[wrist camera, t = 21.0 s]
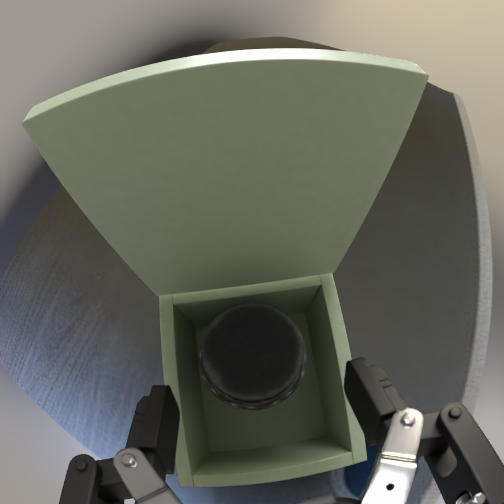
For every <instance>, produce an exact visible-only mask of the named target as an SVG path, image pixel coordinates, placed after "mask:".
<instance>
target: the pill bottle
mask: <svg viewBox="0 0 504 504" xmlns="http://www.w3.org/2000/svg"><path fill="white" fill-rule="evenodd" d="M198 358H199V368H200V373H201V375H202V377H203V380H204V382H205V384H206V385H207V386H208V388H209V389H210V390H211V392H212V393H213V394H214V395H215V396H216V397H217V398H218V399H220V400H221V401H223V402H224V403H226V404H228V405H231V406H233V407H236V408H239V409H244V410H262V409H266V408H269V407H273V406H275V405H277V404H279V403H281V402H283V401H284V400H286V399H287V398H288V397H289V396H291V395H292V393H294V392H295V390H296V389H297V387H298V385H299V384H300V383H301V381H302V378H303V376H304V374H305V371H306V363H307V351H306V346H305V343H304V340H303V337H302V335H301V333H300V331H299V330H298V329H297V327H296V325H295V324H294V322H293V321H292V320H291V319H290V318H289V317H288V316H287V315H286V314H284V313H283V312H282V311H280V310H279V309H277V308H275V307H273V306H270V305H267V304H264V303H257V302H249V303H241V304H238V305H235V306H232V307H230V308H227V309H226V310H224V311H223V312H221V313H220V314H219V315H218V316H216V317H215V318H214V320H213V321H212V322H211V323H210V325H209V326H208V328H207V330H206V332H205V334H204V336H203V338H202V342H201V345H200V349H199V356H198Z"/></svg>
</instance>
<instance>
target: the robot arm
mask: <svg viewBox="0 0 504 504" xmlns="http://www.w3.org/2000/svg"><path fill="white" fill-rule="evenodd" d="M344 392H345V395H346V397H347V399H348V402H349V404H350V406H351V408H352V410H353V412H354V414H355V416H356V418H357V421H358V423H359V425H360V427H361V429H362V431H363V433H364V435H365V438H366V440H367V442H368V444H369V446H373V445H376V444H378V446H379V448H380V449H379V452H378V454H377V457H376V460H375V462H374V465H373V468H372V470H371V473H370V475H369V477H368V480H367V482H366V484H365V486H364V488H363V490H362V493H361V495H360V497H359V499H358V500H356V499H352V498H345V497H335V496H334V493H329V494H325V495H321V496H317V497H312V498H307V499H305V500H303V501H300V502H298V503H295V504H405V503H406V500H407V497H408V494H409V491H410V488H411V484H412V481H413V478H414V474H415V470H416V467H417V461H416V460H415V459H416V457H420V456H424V458H425V460H426V462H427V464H428V466H429V468H430V470H431V473H432V475H433V477H434V479H435V481H436V483H437V485H438V488H439V490H440V492H441V494H442V496H443V499H444V501H445V503H446V504H504V465H503V463H502V461H501V460H500V458H499V456H498V455H497V453H496V452H495V450H494V448H493V447H492V445H491V444H490V442H489V441H488V439H487V438H486V436H485V435H484V433H483V432H482V430H481V429H480V427H479V426H478V424H477V423H476V421H475V420H474V418H473V417H472V415H471V414H470V413H469V411H468V410H467V408H466V407H465V406H464V405H463V404H461V403H458V402H450V403H447V404H445V405H444V406H443V407H442V409H441V411H440V412H435V413H427V414H421V413H420V412H419V411H417V410H415V409H412V408H408V407H407V405H406V404H405V402H404V401H403V399H402V398H401V396H400V395H399V393H398V392H397V390H396V389H395V387H394V386H393V385H392V383H391V381H390V380H389V379H388V377H387V375H386V374H385V372H384V371H383V370H382V369H380V368H379V367H377V366H376V365H372V366H369V365H368V363H367V362H366V360H365V359H364V358H363V357H361V358H357V359H353V360H349V361H347V362H346V368H345V377H344ZM179 423H180V410H179V406H178V404H177V402H176V399H175V397H174V394H173V392H172V389H171V387H170V386H169V385H154V386H152V389H151V393H150V396H143V398H142V399H141V400H140V401H139V403H138V404H137V407H136V410H135V415H134V417H133V422H132V425H131V428H130V432H129V436H128V440H127V443H126V447H125V449H122V450H120V451H119V452H118V453H117V454H116V455H115V457H114V458H110V459H104V460H97V461H95V460H94V459H93V458H92V457H91V456H89V455H86V454H81V455H78V456H75V457H74V458H73V459H72V460H71V461H70V463H69V467H68V470H67V474H66V477H65V481H64V485H63V489H62V493H61V497H60V501H59V504H124V499H131V498H134V500H135V504H183V503H182V502H181V500H180V499H179V498H178V497H177V496H176V494H175V493H174V492H173V491H172V490H171V488H170V487H169V486H168V485H167V483H166V482H165V478H166V474H174V467H175V457H176V448H177V439H178V431H179Z"/></svg>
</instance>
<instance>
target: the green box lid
mask: <svg viewBox="0 0 504 504" xmlns="http://www.w3.org/2000/svg"><path fill="white" fill-rule="evenodd" d="M427 80H428V75H427V74H426V73H425V72H424V71H423V70H422V69H421V68H420V67H419V66H417V65H416V64H415V63H413V62H409V61H404V60H399V59H394V58H388V57H383V56H376V55H370V54H363V53H354V52H346V51H335V50H321V49H254V50H240V51H229V52H219V53H211V54H204V55H197V56H191V57H185V58H179V59H174V60H169V61H164V62H160V63H155V64H151V65H147V66H143V67H139V68H135V69H131V70H128V71H124V72H121V73H117V74H114V75H111V76H108V77H105V78H102V79H99V80H96V81H93V82H91V83H87V84H85V85H82V86H79V87H77V88H74V89H72V90H69V91H67V92H65V93H62V94H60V95H58V96H55V97H53V98H51V99H49V100H46V101H44V102H42V103H40V104H38V105H36V106H34V107H32V109H31V110H30V112H29V113H28V115H27V116H26V118H25V119H24V121H23V122H22V125H23V127H24V128H25V130H26V131H27V133H28V135H29V136H30V138H31V139H32V141H33V143H34V144H35V146H36V147H37V149H38V150H39V152H40V153H41V155H42V156H43V158H44V159H45V161H46V162H47V164H48V165H49V166H50V168H51V169H52V171H53V172H54V174H55V175H56V176H57V178H58V179H59V181H60V182H61V183H62V185H63V186H64V187H65V189H66V190H67V191H68V193H69V194H70V195H71V197H72V198H73V199H74V201H75V202H76V203H77V205H78V206H79V207H80V208H81V210H82V211H83V212H84V214H85V215H86V216H87V217H88V219H89V220H90V221H91V222H92V223H93V225H94V226H95V227H96V228H97V230H98V231H99V232H100V233H101V234H102V236H103V237H104V238H105V239H106V240H107V241H108V243H109V244H110V245H111V246H112V247H113V248H114V250H115V251H116V252H117V253H118V254H119V255H120V256H121V258H122V259H123V260H124V261H125V262H126V263H127V264H128V265H129V267H130V268H131V269H132V270H133V271H134V272H135V273H136V274H137V275H138V276H139V277H140V278H141V280H142V281H143V282H144V283H145V284H146V285H147V286H148V287H149V288H150V289H151V290H152V291H153V292H154V293H155V294H156V295H157V296H161V295H170V294H179V293H188V292H197V291H205V290H213V289H222V288H229V287H237V286H245V285H252V284H260V283H267V282H274V281H281V280H288V279H295V278H302V277H309V276H315V275H322V274H328V273H334V272H335V271H336V269H337V267H338V265H339V264H340V262H341V260H342V259H343V257H344V255H345V253H346V252H347V250H348V248H349V246H350V245H351V243H352V241H353V239H354V237H355V236H356V234H357V232H358V230H359V228H360V226H361V225H362V223H363V221H364V219H365V217H366V215H367V213H368V211H369V209H370V208H371V206H372V204H373V202H374V200H375V198H376V196H377V194H378V192H379V190H380V188H381V186H382V184H383V182H384V180H385V178H386V176H387V174H388V172H389V169H390V167H391V165H392V163H393V161H394V159H395V157H396V155H397V152H398V150H399V148H400V146H401V144H402V141H403V139H404V137H405V135H406V132H407V130H408V128H409V125H410V123H411V121H412V118H413V116H414V113H415V111H416V108H417V106H418V103H419V101H420V98H421V96H422V93H423V91H424V88H425V85H426V83H427Z"/></svg>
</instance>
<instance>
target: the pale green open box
mask: <svg viewBox="0 0 504 504" xmlns="http://www.w3.org/2000/svg"><path fill="white" fill-rule="evenodd" d="M159 300H160V329H161V347H162V361H163V373H164V384H165V385H169V386H170V387H171V389H172V392H173V394H174V397H175V399H176V402H177V404H178V406H179V410H180V423H179V431H178V439H177V448H176V457H175V464H176V469H177V475H178V480H179V485H180V487H194V486H195V487H222V486H239V485H250V484H260V483H268V482H275V481H282V480H288V479H293V478H299V477H304V476H309V475H313V474H318V473H322V472H326V471H330V470H334V469H338V468H341V467H345V466H349V465H352V464H355V463H359V462H362V461H365V460H367V455H366V446H365V438H364V433H363V431H362V429H361V427H360V425H359V423H358V421H357V418H356V416H355V414H354V412H353V410H352V408H351V406H350V404H349V402H348V399H347V397H346V395H345V392H344V377H345V368H346V362H347V361H349V360H352V359H351V354H350V349H349V344H348V339H347V335H346V330H345V325H344V321H343V317H342V312H341V308H340V304H339V299H338V295H337V291H336V287H335V283H334V279H333V275H332V273H328V274H322V275H315V276H309V277H302V278H295V279H288V280H281V281H274V282H267V283H260V284H252V285H245V286H237V287H229V288H222V289H213V290H205V291H197V292H188V293H179V294H170V295H161V296H159ZM249 302H257V303H264V304H267V305H270V306H273V307H275V308H277V309H279V310H280V311H282V312H283V313H284V314H286V315H287V316H288V317H289V318H290V319H291V320H292V321H293V322H294V324H295V325H296V327H297V329H298V330H299V331H300V333H301V335H302V337H303V340H304V343H305V346H306V351H307V363H306V371H305V374H304V376H303V378H302V381H301V383H300V384H299V385H298V387H297V389H296V390H295V392H294V393H292V395H291V396H289V397H288V398H287V399H286V400H284V401H283V402H281V403H279V404H277V405H275V406H273V407H269V408H266V409H262V410H244V409H239V408H236V407H233V406H231V405H228V404H226V403H224V402H223V401H221V400H220V399H218V398H217V397H216V396H215V395H214V394H213V393H212V392H211V390H210V389H209V388H208V386H207V385H206V384H205V382H204V380H203V377H202V375H201V373H200V368H199V358H198V356H199V349H200V345H201V342H202V338H203V336H204V334H205V332H206V330H207V328H208V326H209V325H210V323H211V322H212V321H213V320H214V318H215V317H216V316H218V315H219V314H220V313H221V312H223V311H224V310H226V309H227V308H230V307H232V306H235V305H238V304H241V303H249Z"/></svg>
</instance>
